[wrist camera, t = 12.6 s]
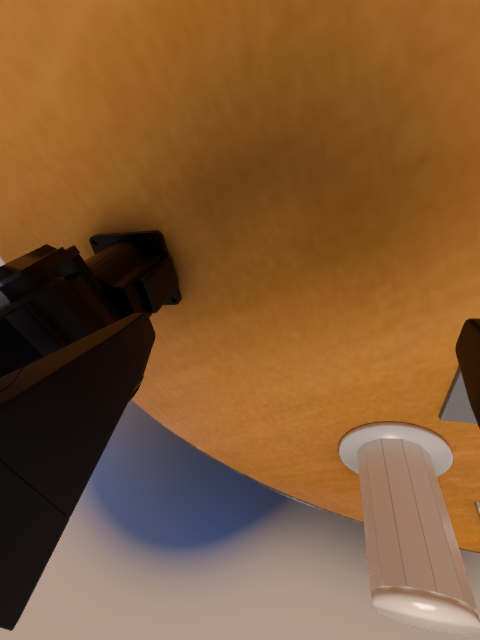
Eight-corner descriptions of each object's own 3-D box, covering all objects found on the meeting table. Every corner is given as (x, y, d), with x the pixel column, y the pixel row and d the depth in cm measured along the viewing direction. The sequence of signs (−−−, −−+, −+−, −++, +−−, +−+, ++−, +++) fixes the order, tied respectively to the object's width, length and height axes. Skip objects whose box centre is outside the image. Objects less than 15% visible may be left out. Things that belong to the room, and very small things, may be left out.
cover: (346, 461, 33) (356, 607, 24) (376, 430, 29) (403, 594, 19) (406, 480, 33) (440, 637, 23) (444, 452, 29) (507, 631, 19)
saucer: (336, 469, 36) (337, 493, 34) (341, 416, 30) (343, 440, 28) (436, 484, 33) (444, 511, 31) (465, 429, 27) (477, 457, 25)
